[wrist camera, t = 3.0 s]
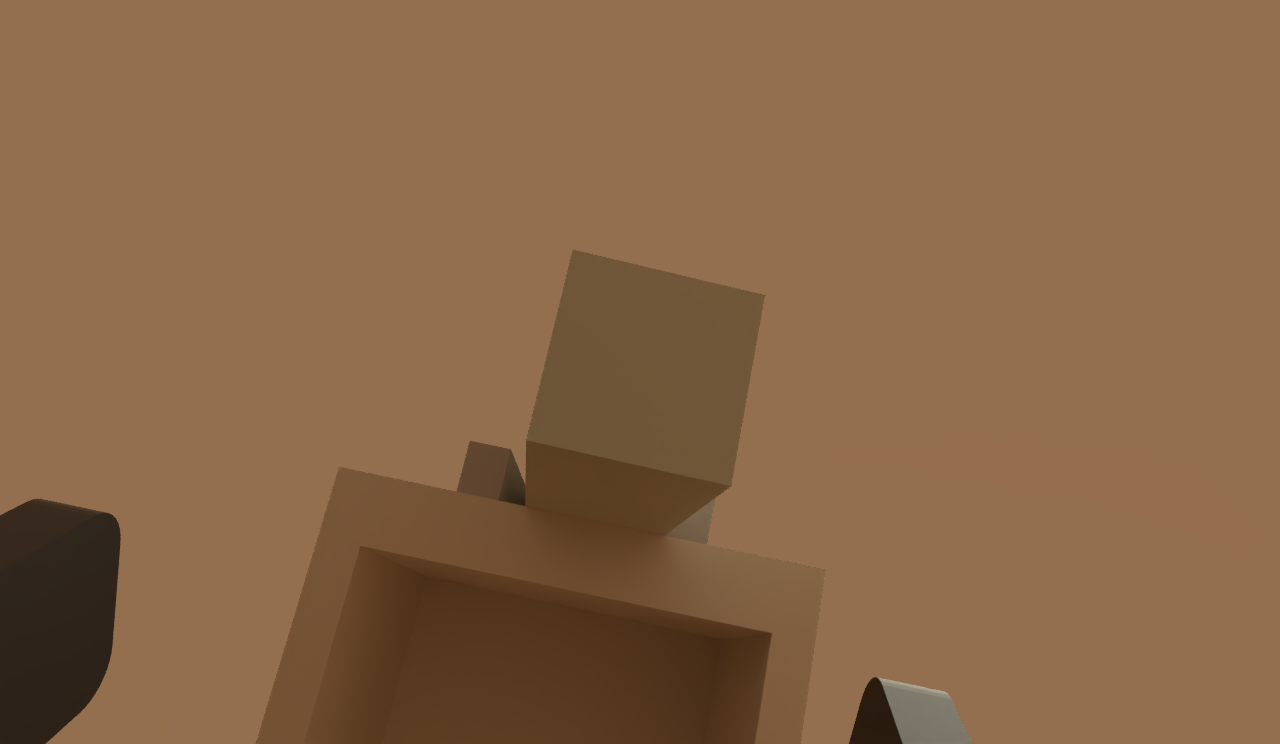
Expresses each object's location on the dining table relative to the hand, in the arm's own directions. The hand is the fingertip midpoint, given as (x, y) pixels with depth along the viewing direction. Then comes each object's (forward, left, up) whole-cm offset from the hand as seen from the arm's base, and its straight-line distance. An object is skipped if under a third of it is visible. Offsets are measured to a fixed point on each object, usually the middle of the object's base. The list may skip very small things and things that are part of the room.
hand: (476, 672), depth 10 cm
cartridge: (-6, +16, +4) cm, 18 cm away
